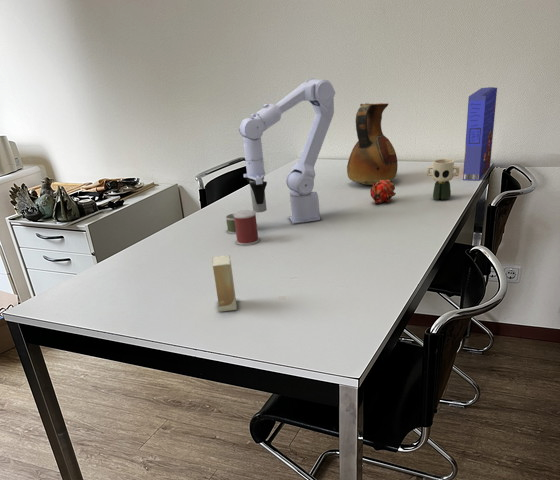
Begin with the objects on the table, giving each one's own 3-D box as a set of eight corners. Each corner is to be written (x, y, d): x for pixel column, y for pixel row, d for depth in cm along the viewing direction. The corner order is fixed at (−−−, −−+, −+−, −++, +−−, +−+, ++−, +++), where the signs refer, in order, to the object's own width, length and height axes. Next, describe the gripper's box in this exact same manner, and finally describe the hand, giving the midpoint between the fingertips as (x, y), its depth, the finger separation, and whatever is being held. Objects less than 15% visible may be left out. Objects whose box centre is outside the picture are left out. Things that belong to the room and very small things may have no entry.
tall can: (257, 236, 193) (254, 209, 189) (260, 243, 187) (257, 215, 183) (236, 239, 192) (232, 212, 188) (238, 246, 186) (234, 218, 182)
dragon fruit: (391, 201, 219) (378, 215, 212) (373, 187, 219) (360, 201, 212) (403, 184, 212) (391, 198, 205) (384, 169, 213) (371, 183, 205)
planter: (265, 212, 195) (261, 180, 189) (251, 212, 196) (247, 181, 190) (268, 208, 198) (264, 176, 193) (254, 208, 199) (251, 177, 194)
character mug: (424, 201, 210) (425, 163, 204) (428, 195, 216) (429, 158, 209) (455, 201, 206) (457, 163, 199) (459, 196, 212) (461, 158, 205)
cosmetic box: (219, 302, 151) (212, 256, 144) (236, 300, 151) (230, 254, 144) (219, 312, 145) (212, 265, 139) (237, 310, 145) (230, 263, 139)
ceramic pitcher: (405, 178, 240) (406, 97, 225) (384, 191, 226) (385, 106, 211) (361, 176, 250) (359, 98, 235) (339, 188, 236) (336, 107, 220)
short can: (245, 226, 204) (244, 211, 201) (248, 231, 198) (246, 217, 196) (226, 229, 203) (224, 214, 201) (228, 234, 198) (226, 219, 195)
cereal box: (475, 166, 246) (481, 87, 231) (490, 167, 243) (497, 86, 228) (462, 180, 230) (468, 95, 215) (478, 180, 227) (485, 95, 212)
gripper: (239, 156, 194) (244, 198, 201) (244, 165, 182) (249, 209, 189) (260, 153, 195) (264, 195, 202) (267, 162, 183) (271, 206, 190)
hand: (259, 201), depth 195 cm, fingers closed on planter, 4 cm apart
